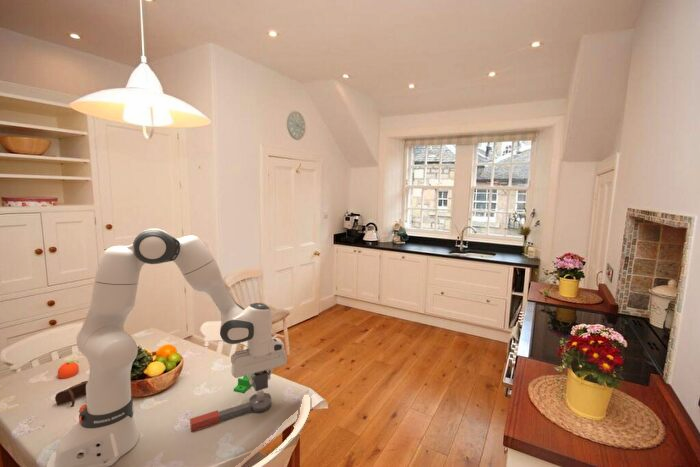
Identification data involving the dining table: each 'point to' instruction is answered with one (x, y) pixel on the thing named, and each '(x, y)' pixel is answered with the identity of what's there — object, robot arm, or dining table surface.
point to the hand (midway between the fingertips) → (260, 381)
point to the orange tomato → (68, 370)
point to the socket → (260, 380)
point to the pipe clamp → (242, 384)
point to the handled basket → (71, 393)
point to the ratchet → (233, 411)
